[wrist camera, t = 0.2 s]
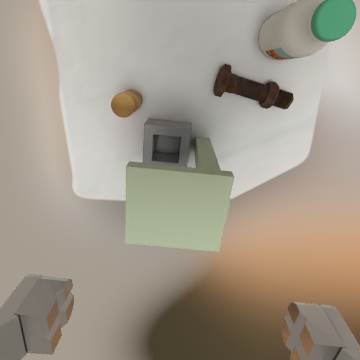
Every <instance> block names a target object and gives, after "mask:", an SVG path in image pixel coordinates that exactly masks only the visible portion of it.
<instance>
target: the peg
mask: <svg viewBox="0 0 360 360" xmlns="http://www.w3.org/2000/svg"><path fill="white" fill-rule="evenodd" d="M141 104H142V97H141V95H140V93H139V92H138V91H136V90H128V91H125V92H123V93H120V94H118V95H116V96H115V97H114V98H113V99H112V102H111V107H112V110H113V112H114V113H115V114H116V115H117V116H119V117H128V116H130V115H131V114H132V113H133V112H135V111H136V110H137V109H138V108H139V107H140V106H141Z"/></svg>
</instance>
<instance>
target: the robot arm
mask: <svg viewBox="0 0 360 360" xmlns="http://www.w3.org/2000/svg"><path fill="white" fill-rule="evenodd" d="M72 287H73V284H72V280H71V279H66V278H58V277H51V276H42V275H33V274H29V275H27V276H26V277H24V279H23V280H22V281H21V283H20V284H19V285H18V287H17V288H16V289H15V290H14V292H13V293H12V294H11V296H10V297H9V298H8V299H7V301H6V302H5V303H4V304H3V306H2V307H1V308H0V360H21V359H22V358H23V357H24V356H25V355H26V353H37V354H53V352H54V350H55V348H56V346H57V344H58V342H59V340H60V338H61V327H63V326H64V325H65V324H67V322H68V320H69V318H70V316H71V313H72V309H73V304H74V296H73V294H72V293H71V292H70V291H71V289H72ZM288 311H289V314H288V315H287V316H285V317H284V319H283V322H282V335H283V339H284V342H285V345H286V346H287V347H288V348H289V349H290V350H291V351H292V353H291V356H290V360H360V346H359V344H358V343H357V341H356V339H355V338H354V336H353V334H352V333H351V331H350V330H349V328H348V326H347V325H346V323H345V321H344V320H343V318H342V317H341V315H340V313H339V312H338V310H337V309H336V308H335V307H334V306H331V305H320V304H319V305H318V304H311V303H299V302H291V303H290V304H289V306H288Z"/></svg>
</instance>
